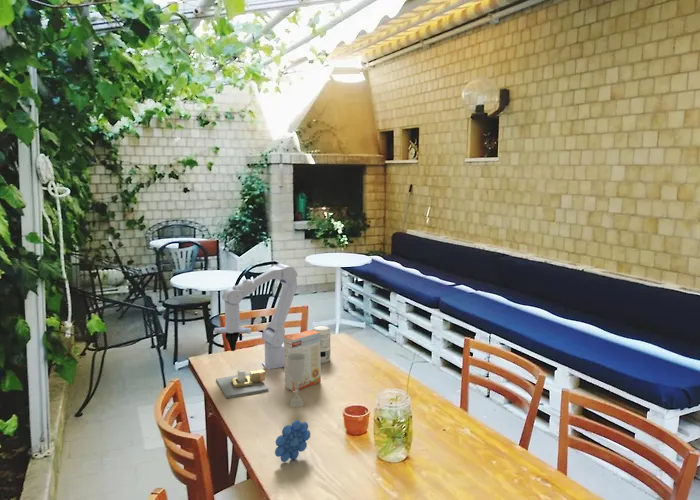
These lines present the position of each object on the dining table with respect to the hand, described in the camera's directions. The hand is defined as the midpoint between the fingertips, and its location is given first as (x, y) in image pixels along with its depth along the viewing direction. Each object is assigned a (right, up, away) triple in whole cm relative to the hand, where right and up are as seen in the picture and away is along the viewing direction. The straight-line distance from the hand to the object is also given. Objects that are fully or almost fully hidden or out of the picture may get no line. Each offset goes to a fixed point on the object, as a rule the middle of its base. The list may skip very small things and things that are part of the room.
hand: (233, 350), depth 223 cm
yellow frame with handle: (+8, -11, -9) cm, 16 cm away
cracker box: (+29, -12, -8) cm, 33 cm away
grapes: (+31, -21, -61) cm, 72 cm away
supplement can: (+35, -8, +18) cm, 40 cm away
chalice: (+29, -15, -25) cm, 41 cm away
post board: (+6, -12, -10) cm, 17 cm away
